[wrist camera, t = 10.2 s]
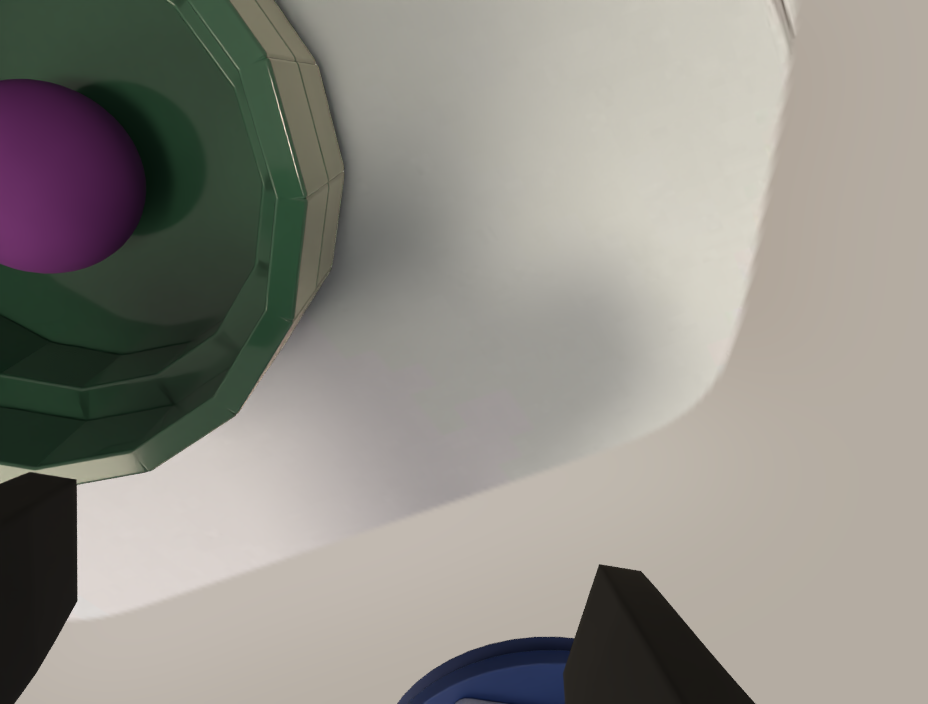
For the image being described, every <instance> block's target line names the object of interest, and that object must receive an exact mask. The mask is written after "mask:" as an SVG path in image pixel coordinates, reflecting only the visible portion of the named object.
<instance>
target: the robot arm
mask: <svg viewBox="0 0 928 704" xmlns="http://www.w3.org/2000/svg"><path fill="white" fill-rule="evenodd" d="M76 602H77V479H70V478H64V477H58V476H52V475H46V474H40V473H34V472H28V473H26V474H23V475H20V476H18V477H15V478H13V479H10V480H8V481H5V482H3V483H1V484H0V704H14V703H15V702H16V700H17V699H18V698H19V696H20V695H21V694H22V692H23V691H24V690H25V688H26V687H27V685H28V684H29V683H30V681H31V680H32V678H33V677H34V676H35V674H36V673H37V671H38V669H39V668H40V666H41V664H42V662H43V661H44V659H45V657H46V656H47V654H48V652H49V650H50V649H51V647H52V646H53V644H54V642H55V640H56V639H57V637H58V635H59V633H60V631H61V630H62V628H63V626H64V624H65V622H66V621H67V619H68V617H69V615H70V613H71V611H72V610H73V608H74V606H75V604H76ZM563 681H564V696H565V704H755V703H754V702H753V701H752V699H751V698H750V697H749V696H748V695H747V694H746V693H745V692H744V690H743V689H742V688H741V687H740V686H739V685H738V684H737V683H736V681H734V679H733V678H732V677H731V676H730V675H729V674H728V673H727V671H726V670H725V669H724V668H723V667H722V665H721V664H720V663H719V662H718V661H717V660H716V658H715V657H714V656H713V655H712V654H711V653H710V651H709V650H708V649H707V648H706V647H705V645H704V644H703V643H702V642H701V641H700V640H699V638H698V637H697V636H696V635H695V634H694V632H693V631H692V630H691V629H690V628H689V627H688V625H687V624H686V623H685V622H684V621H683V619H682V618H681V617H680V616H679V615H678V613H677V612H676V611H675V610H674V609H673V607H672V606H671V605H670V604H669V603H668V601H667V600H666V599H665V598H664V597H663V596H662V594H661V593H660V592H659V591H658V590H657V589H656V587H655V586H654V585H653V584H652V583H651V582H650V581H649V579H647V578H646V576H645V575H644V574H643V573H642V572H641V571H636V570H631V569H625V568H618V567H612V566H606V565H599V567H598V570H597V573H596V576H595V579H594V582H593V585H592V588H591V591H590V594H589V597H588V600H587V603H586V606H585V609H584V612H583V615H582V618H581V621H580V624H579V627H578V630H577V633H576V636H575V639H574V642H573V645H572V648H571V651H570V654H569V657H568V660H567V663H566V666H565V669H564V672H563ZM455 704H506V703H499V702H492V701H485V700H478V699H471V698H464V699H461V700H459V701H457V702H456V703H455Z"/></svg>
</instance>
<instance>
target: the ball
mask: <svg viewBox="0 0 928 704" xmlns="http://www.w3.org/2000/svg"><path fill="white" fill-rule="evenodd" d="M145 198H146V178H145V172H144V168H143V164H142V161H141V158H140V155H139V153H138V151H137V148H136V146H135V145H134V143H133V141H132V139H131V138H130V136H129V135H128V133H127V132H126V131H125V129H124V128H123V127H122V126H121V124H120V123H119V122H118V121H117V120H116V119H115V118H114V117H113V116H112V115H111V114H110V113H108V112H107V111H106V110H105V109H104V108H103V107H102V106H100V105H99V104H97V103H96V102H94V101H93V100H92V99H90V98H88V97H86V96H84V95H83V94H81V93H79V92H76V91H74V90H72V89H69V88H67V87H64V86H62V85H58V84H55V83H51V82H46V81H40V80H32V79H8V80H1V81H0V264H2V265H5V266H8V267H10V268H13V269H18V270H22V271H27V272H35V273H44V274H47V273H64V272H72V271H76V270H80V269H84V268H87V267H89V266H92V265H94V264H97V263H99V262H101V261H103V260H104V259H106V258H107V257H109V256H111V255H112V254H113V253H115V252H116V251H117V250H118V249H119V248H121V247H122V246H123V245H124V244H125V242H126V241H127V240H128V239H129V238H130V236H131V235H132V234H133V232H134V230H135V229H136V227H137V225H138V223H139V221H140V219H141V216H142V213H143V209H144V205H145Z"/></svg>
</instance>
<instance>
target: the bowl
mask: <svg viewBox="0 0 928 704" xmlns="http://www.w3.org/2000/svg"><path fill="white" fill-rule="evenodd" d="M315 64H316V61H315V59H314V58H313V56H312V55H311V53H310V52H309V50H308V49H307V47H306V46H305V45H304V43H303V42H302V40H301V39H300V37H299V36H298V34H297V33H296V31H295V30H294V29H293V27H292V26H291V24H290V23H289V21H288V20H287V18H286V17H285V15H284V14H283V12H282V11H281V10H280V8H279V7H278V5H277V4H276V2H275V1H274V0H0V81H1V80H8V79H32V80H40V81H46V82H51V83H55V84H58V85H62V86H64V87H67V88H69V89H72V90H74V91H76V92H79V93H81V94H83V95H84V96H86V97H88V98H90V99H92V100H93V101H94V102H96V103H97V104H99V105H100V106H102V107H103V108H104V109H105V110H106V111H107V112H108V113H110V114H111V115H112V116H113V117H114V118H115V119H116V120H117V121H118V122H119V123H120V124H121V126H122V127H123V128H124V129H125V131H126V132H127V133H128V135H129V136H130V138H131V139H132V141H133V143H134V145H135V146H136V148H137V151H138V153H139V155H140V158H141V161H142V164H143V168H144V172H145V178H146V198H145V205H144V209H143V213H142V216H141V219H140V221H139V223H138V225H137V227H136V229H135V230H134V232H133V234H132V235H131V236H130V238H129V239H128V240H127V241H126V242H125V244H124V245H123V246H122V247H121V248H119V249H118V250H117V251H116V252H115V253H113V254H112V255H111V256H109V257H107V258H106V259H104V260H103V261H101V262H99V263H97V264H94V265H92V266H89V267H87V268H84V269H80V270H76V271H72V272H64V273H47V274H44V273H35V272H27V271H22V270H18V269H13V268H10V267H8V266H5V265H2V264H0V484H1V483H3V482H5V481H8V480H10V479H13V478H15V477H18V476H20V475H23V474H26V473H28V472H34V473H40V474H46V475H52V476H58V477H64V478H70V479H77V485H78V484H84V483H90V482H95V481H101V480H106V479H112V478H117V477H123V476H128V475H134V474H140V473H145V472H148V471H152V470H153V469H155V468H156V467H158V466H160V465H161V464H163V463H164V462H166V461H167V460H169V459H170V458H172V457H173V456H175V455H176V454H178V453H179V452H181V451H183V450H184V449H186V448H187V447H189V446H190V445H192V444H193V443H195V442H196V441H198V440H199V439H201V438H202V437H204V436H206V435H207V434H209V433H210V432H212V431H213V430H215V429H216V428H218V427H219V426H221V425H222V424H224V423H226V422H227V421H229V420H230V419H232V418H233V417H235V416H236V414H237V413H239V411H240V410H241V408H242V407H243V405H244V404H245V403H246V401H247V400H248V398H249V397H250V395H251V394H252V392H253V391H254V389H255V388H256V386H257V385H258V383H259V382H260V380H261V379H262V377H263V376H264V374H265V373H266V371H267V370H268V368H269V367H270V365H271V364H272V363H273V361H274V360H275V358H276V357H277V355H278V354H279V352H280V351H281V349H282V348H283V346H284V345H285V343H286V342H287V340H288V339H289V337H290V335H291V334H292V332H293V331H294V329H295V327H296V326H297V324H298V322H299V321H300V319H301V318H302V316H303V314H304V313H305V311H306V309H307V308H308V306H309V305H310V303H311V301H312V300H313V298H314V296H315V295H316V293H317V292H318V290H319V288H320V287H321V285H322V283H323V282H324V280H325V279H326V277H327V275H328V274H329V272H330V270H331V266H332V264H333V257H334V250H335V242H336V235H337V227H338V220H339V212H340V205H341V197H342V190H343V183H344V172H343V171H344V165H343V161H342V157H341V153H340V149H339V145H338V141H337V137H336V133H335V129H334V125H333V121H332V117H331V114H330V110H329V106H328V102H327V98H326V94H325V90H324V86H323V82H322V78H321V74H320V70H319V67H318V65H315Z"/></svg>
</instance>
